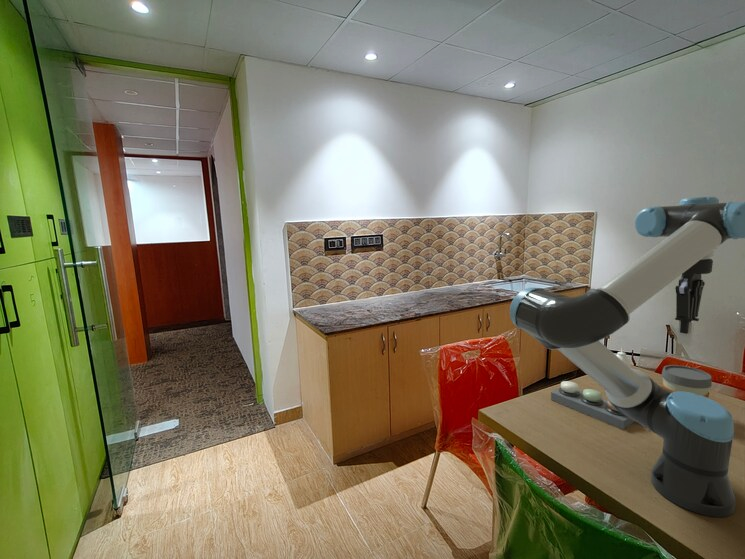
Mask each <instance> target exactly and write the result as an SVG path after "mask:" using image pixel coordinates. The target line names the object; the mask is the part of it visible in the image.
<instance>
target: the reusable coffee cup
mask: <svg viewBox="0 0 745 559" xmlns="http://www.w3.org/2000/svg"><path fill="white" fill-rule="evenodd" d="M661 377H662V382H661V387H663V388H665V389H667V390H669V391H671V392H678V391H682V392H690V393H694V394H695V395H701V396H704V397H707V398H709V396H710V391H709V390H710V388H711V387H712V383H713V382H712V375H711V374H710V373H709V372H706V371H704V370H702V369H699V368H696V367H691V366H686V365H679V364H678V365H677V364H669V365H667V364H666V365H665V366H663V368H662V371H661Z"/></svg>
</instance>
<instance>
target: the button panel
mask: <svg viewBox="0 0 745 559" xmlns="http://www.w3.org/2000/svg"><path fill="white" fill-rule="evenodd" d="M550 400H551V401H553V400H554V401H553V402H555V401H556V402H555V403H558V402H559V403H558V404H560V403H561V405H563V406H565V407H567V408H570V409H573V410H575V411H578V412H580V413H582V414H585V415H587V416H589V417H592V418H593V419H597V420H598V421H601V422H604V423H606V424H608V425H612V426H613V427H615V428H618V429H621V430H625V429H626V428H628V427H629V426H630V425H633V423H634V422H635V421H634V420H632V419H631V418H629V417H627V416H625V415H623V414H621V413H620V412H619V411H615V410H612V409H610V408H609V407H608V406H607V404H608V399H605V398H602V400H601V401H600V402H593V401H589V400H586V399H585V398H583V390H581V389H578V392H577V393H568V392H565V391H563V390H562V389H561V387H559V388H557V389H555V390H552V391H551V392H550Z"/></svg>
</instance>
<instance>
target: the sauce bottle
mask: <svg viewBox="0 0 745 559" xmlns="http://www.w3.org/2000/svg"><path fill="white" fill-rule="evenodd" d="M620 348H621V349H620V350H621V351H618V352H617V353H616V354H615V355H616V356H617V357H618V358H619V359H620V360H622V361H623V362H624V363H625V364H626V365H627V366H628V367H630V368H631V369H633V367H632V364H631V360H630V359H629V357H628V356H627V353H626V352H623V350H624V349H623V348H624V347H623V346H621V347H620Z"/></svg>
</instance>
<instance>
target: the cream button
mask: <svg viewBox="0 0 745 559" xmlns="http://www.w3.org/2000/svg"><path fill="white" fill-rule="evenodd" d="M560 388H561V389H562V390H563V391H565V392H568V393H577V392H578V390H579V384H578V383H576V382H574V381H570V380H563V381H561V382H560Z"/></svg>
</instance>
